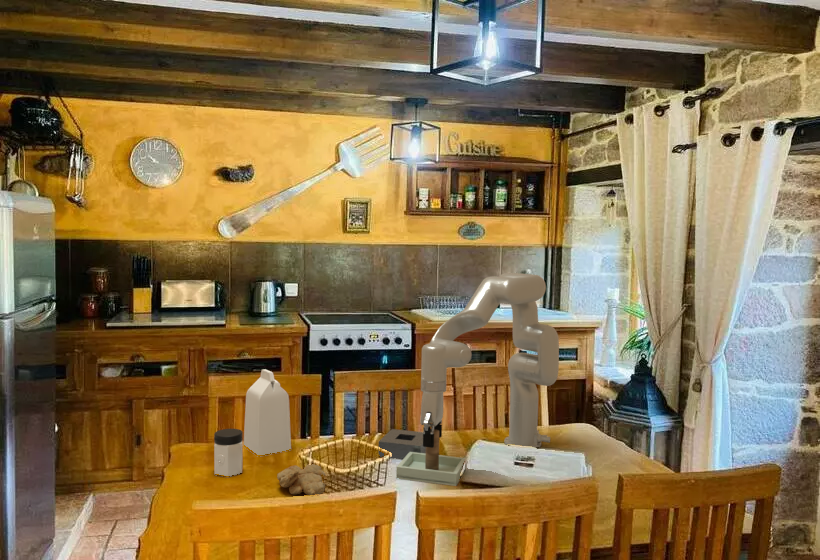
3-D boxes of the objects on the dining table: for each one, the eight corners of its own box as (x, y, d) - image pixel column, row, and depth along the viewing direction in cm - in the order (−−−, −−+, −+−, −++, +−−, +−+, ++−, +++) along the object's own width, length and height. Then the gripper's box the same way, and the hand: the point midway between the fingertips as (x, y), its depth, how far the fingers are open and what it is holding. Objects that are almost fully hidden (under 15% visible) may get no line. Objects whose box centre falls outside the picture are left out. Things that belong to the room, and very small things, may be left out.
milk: (243, 446, 219) (243, 369, 217) (275, 440, 226) (275, 365, 224) (258, 456, 210) (258, 376, 208) (291, 450, 216) (291, 372, 214)
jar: (207, 474, 194) (207, 434, 193) (223, 465, 201) (223, 427, 200) (234, 478, 191) (234, 438, 190) (249, 469, 199) (249, 430, 198)
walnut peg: (439, 468, 199) (440, 430, 198) (436, 473, 195) (437, 433, 194) (427, 467, 200) (427, 428, 199) (423, 471, 196) (424, 432, 195)
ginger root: (282, 472, 193) (288, 447, 192) (332, 489, 191) (339, 463, 190) (261, 495, 178) (268, 468, 176) (316, 513, 176) (323, 486, 174)
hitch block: (431, 447, 221) (431, 433, 221) (420, 461, 208) (420, 446, 207) (391, 443, 225) (391, 429, 225) (378, 456, 212) (378, 441, 211)
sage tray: (465, 469, 202) (466, 458, 201) (456, 486, 188) (456, 474, 188) (409, 462, 207) (409, 451, 206) (396, 478, 193) (396, 466, 193)
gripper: (428, 378, 205) (427, 432, 206) (413, 391, 188) (412, 449, 189) (452, 380, 203) (451, 434, 204) (439, 393, 186) (437, 452, 187)
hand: (432, 441), depth 197 cm, fingers open, 9 cm apart
